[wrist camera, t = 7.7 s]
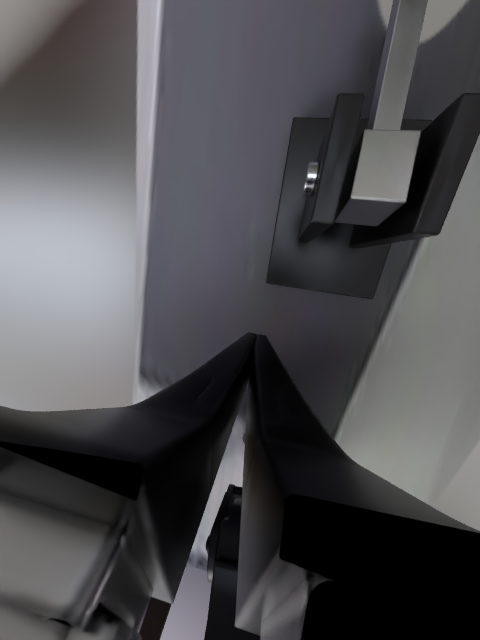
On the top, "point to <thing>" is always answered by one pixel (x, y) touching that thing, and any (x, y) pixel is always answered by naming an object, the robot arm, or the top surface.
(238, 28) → the top surface
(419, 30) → the lever
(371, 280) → the black lever stand
